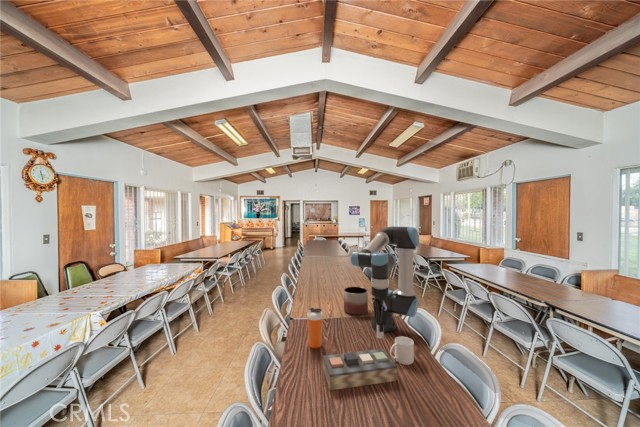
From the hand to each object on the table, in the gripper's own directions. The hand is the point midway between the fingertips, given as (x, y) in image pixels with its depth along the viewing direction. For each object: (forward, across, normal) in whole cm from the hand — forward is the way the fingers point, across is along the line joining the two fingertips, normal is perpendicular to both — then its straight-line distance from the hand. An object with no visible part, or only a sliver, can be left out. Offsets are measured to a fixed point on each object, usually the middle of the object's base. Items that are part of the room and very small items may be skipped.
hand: (380, 337), depth 115 cm
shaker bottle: (+16, -29, -26) cm, 42 cm away
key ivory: (+12, 0, -7) cm, 14 cm away
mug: (+16, -7, +14) cm, 23 cm away
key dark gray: (+11, 0, -14) cm, 18 cm away
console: (+16, 0, -11) cm, 19 cm away
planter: (+17, -70, +12) cm, 73 cm away
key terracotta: (+12, 0, -21) cm, 24 cm away
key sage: (+12, 0, 0) cm, 12 cm away
